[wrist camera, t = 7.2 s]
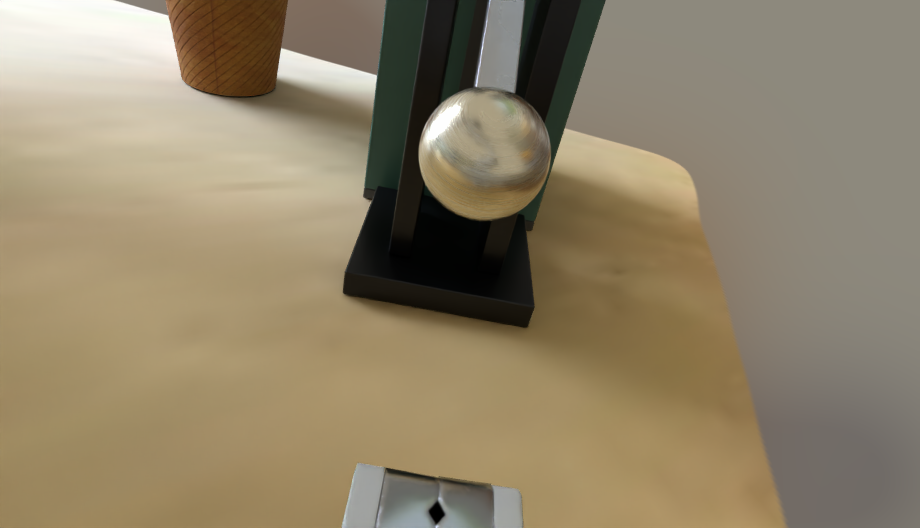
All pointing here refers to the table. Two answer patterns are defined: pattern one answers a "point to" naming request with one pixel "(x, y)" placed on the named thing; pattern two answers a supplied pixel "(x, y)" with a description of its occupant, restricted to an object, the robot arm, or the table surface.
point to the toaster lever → (488, 131)
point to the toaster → (456, 81)
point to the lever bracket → (437, 229)
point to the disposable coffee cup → (228, 44)
